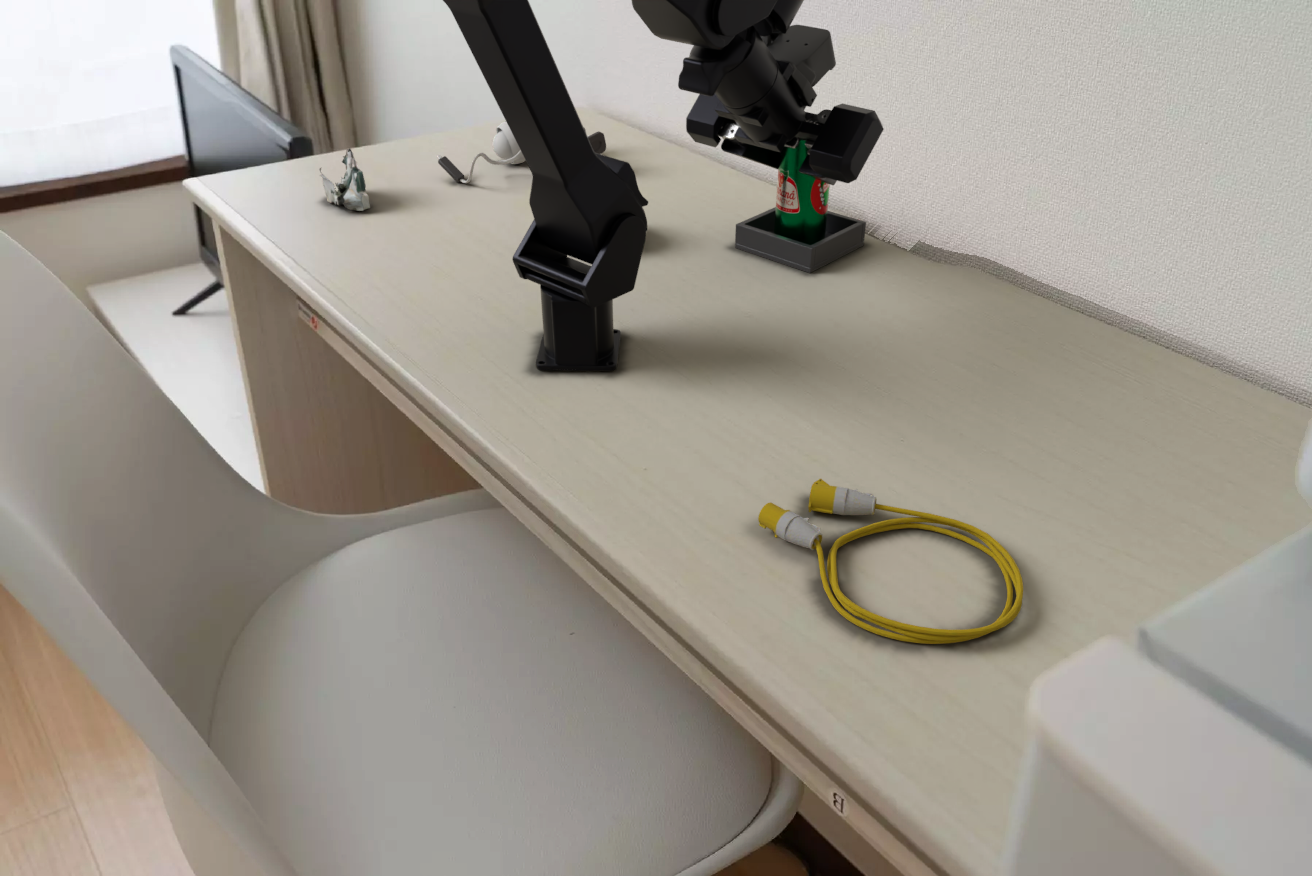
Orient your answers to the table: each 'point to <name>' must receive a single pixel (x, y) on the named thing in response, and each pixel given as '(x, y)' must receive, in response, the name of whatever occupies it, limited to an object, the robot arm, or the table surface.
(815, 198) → the soda can
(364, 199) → the grey green figurine
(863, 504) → the extension cord
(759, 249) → the square tray
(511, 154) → the clip-on lamp
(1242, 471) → the table surface
